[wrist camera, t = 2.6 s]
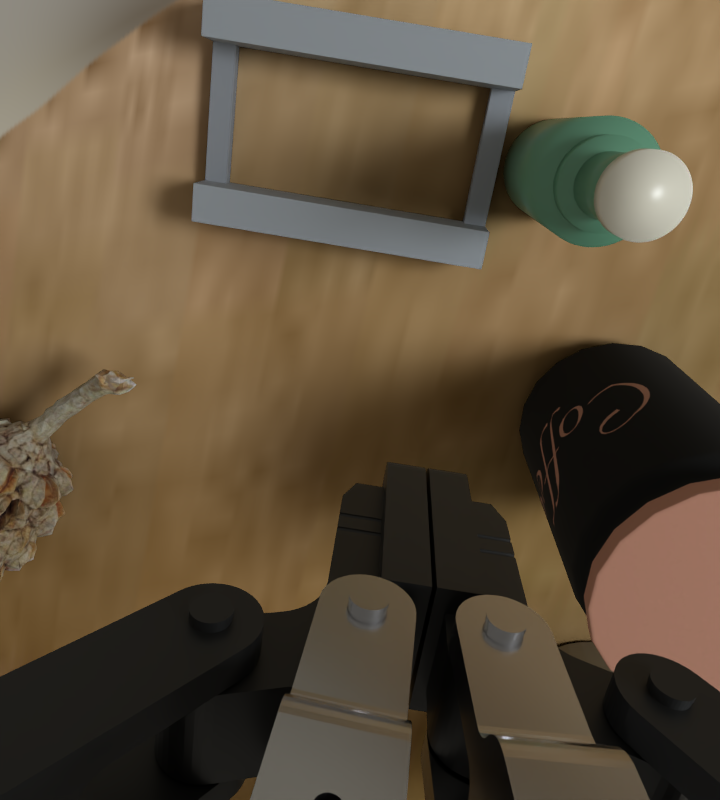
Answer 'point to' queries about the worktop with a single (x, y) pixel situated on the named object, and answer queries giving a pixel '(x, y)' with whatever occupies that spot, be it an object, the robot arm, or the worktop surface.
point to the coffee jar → (633, 500)
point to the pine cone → (40, 470)
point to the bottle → (597, 180)
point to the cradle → (371, 48)
